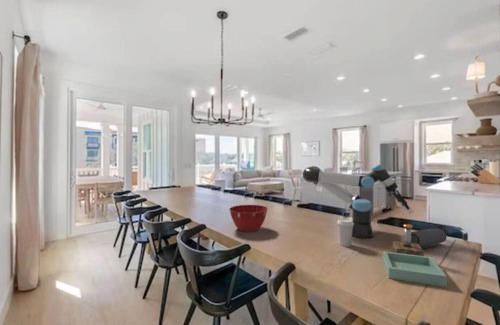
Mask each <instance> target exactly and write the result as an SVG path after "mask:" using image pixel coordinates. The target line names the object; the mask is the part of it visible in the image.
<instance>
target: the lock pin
mask: <svg viewBox="0 0 500 325" xmlns="http://www.w3.org/2000/svg"><path fill="white" fill-rule="evenodd" d="M403 228H404V230H403V231H404V235H403V236H404V237H403V238H404V241H403V242H404V247H410V248H411V232H412V229H413V225H412V224H410V223H404V224H403Z"/></svg>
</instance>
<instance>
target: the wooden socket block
mask: <svg viewBox="0 0 500 325" xmlns="http://www.w3.org/2000/svg"><path fill="white" fill-rule="evenodd" d="M392 252H393V253H401V254H410V255H418V256H425V250H423V248H421V247H420V246H419V244H415V243H411V248H410V247H404V241H403V242H402V241H398V240H397V241H395V240H392Z"/></svg>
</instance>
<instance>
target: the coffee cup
mask: <svg viewBox="0 0 500 325" xmlns="http://www.w3.org/2000/svg"><path fill="white" fill-rule="evenodd" d="M353 225H354V223H353V221H352V219H350V218H339V219H338V220H337V230H338V241H339V245H340V246H342V247H347V248H349V247H352V240H353V238H352V237H353V236H352V230H353Z"/></svg>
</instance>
